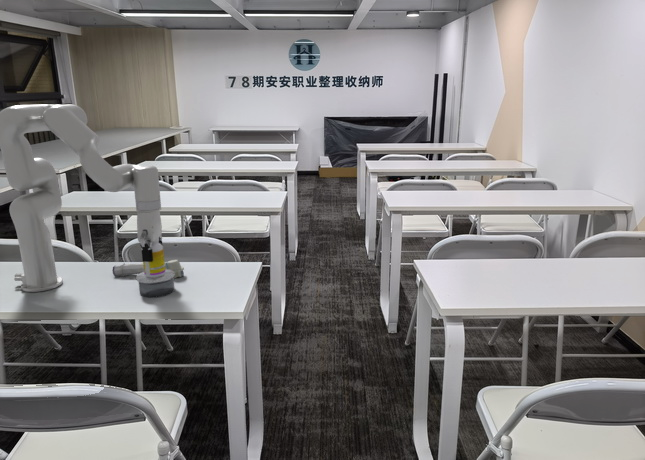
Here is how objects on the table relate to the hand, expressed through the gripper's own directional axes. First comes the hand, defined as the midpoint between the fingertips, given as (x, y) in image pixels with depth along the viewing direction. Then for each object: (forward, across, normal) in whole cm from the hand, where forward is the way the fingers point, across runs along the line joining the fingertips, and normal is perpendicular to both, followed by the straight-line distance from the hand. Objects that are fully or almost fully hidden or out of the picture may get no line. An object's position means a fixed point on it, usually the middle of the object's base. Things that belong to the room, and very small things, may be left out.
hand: (153, 256), depth 166 cm
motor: (+12, 0, 0) cm, 12 cm away
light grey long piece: (+13, -14, -7) cm, 20 cm away
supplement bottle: (+7, 0, 0) cm, 7 cm away
